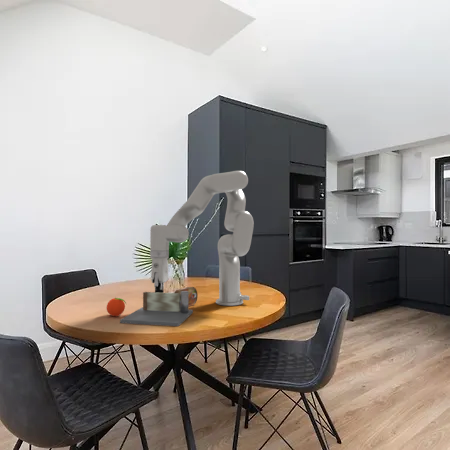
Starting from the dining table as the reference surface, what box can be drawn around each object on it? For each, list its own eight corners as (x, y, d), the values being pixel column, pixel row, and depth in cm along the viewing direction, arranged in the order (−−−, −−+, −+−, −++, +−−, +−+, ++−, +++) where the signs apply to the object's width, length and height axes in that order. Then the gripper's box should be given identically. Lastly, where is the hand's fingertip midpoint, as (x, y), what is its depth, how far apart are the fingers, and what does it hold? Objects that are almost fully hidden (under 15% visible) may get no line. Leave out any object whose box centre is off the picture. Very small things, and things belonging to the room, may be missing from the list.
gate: (180, 310, 132) (180, 293, 132) (179, 311, 131) (179, 294, 131) (144, 309, 135) (144, 291, 135) (143, 310, 133) (143, 292, 133)
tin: (176, 311, 138) (176, 290, 138) (170, 310, 140) (170, 290, 140) (198, 304, 151) (198, 285, 151) (192, 303, 153) (192, 285, 153)
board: (192, 312, 136) (192, 309, 136) (178, 326, 117) (178, 322, 117) (142, 310, 139) (142, 307, 139) (120, 323, 121) (120, 319, 121)
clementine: (130, 314, 133) (130, 296, 133) (122, 318, 127) (122, 300, 127) (112, 313, 135) (112, 295, 135) (103, 317, 128) (103, 299, 128)
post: (189, 314, 132) (189, 290, 132) (187, 316, 129) (187, 292, 129) (181, 314, 133) (182, 290, 133) (179, 316, 130) (179, 292, 130)
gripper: (163, 256, 129) (163, 303, 129) (172, 253, 144) (172, 295, 144) (145, 256, 130) (144, 303, 130) (155, 253, 145) (155, 295, 145)
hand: (159, 299), depth 137 cm, fingers closed
